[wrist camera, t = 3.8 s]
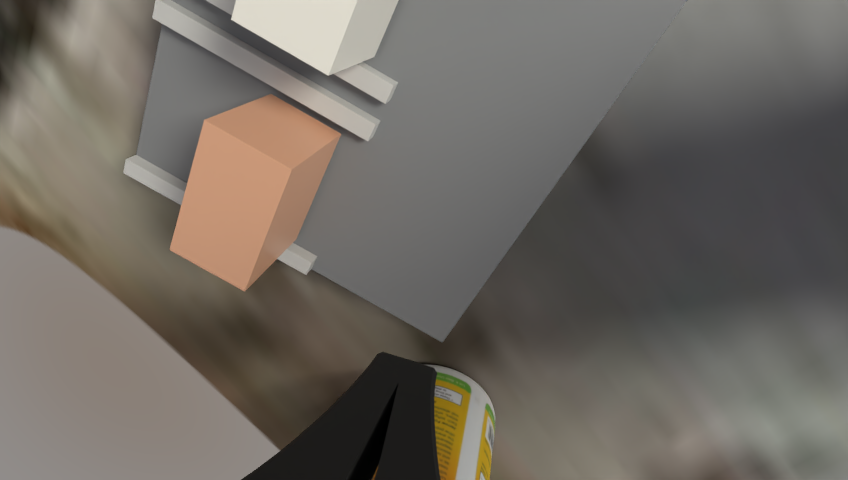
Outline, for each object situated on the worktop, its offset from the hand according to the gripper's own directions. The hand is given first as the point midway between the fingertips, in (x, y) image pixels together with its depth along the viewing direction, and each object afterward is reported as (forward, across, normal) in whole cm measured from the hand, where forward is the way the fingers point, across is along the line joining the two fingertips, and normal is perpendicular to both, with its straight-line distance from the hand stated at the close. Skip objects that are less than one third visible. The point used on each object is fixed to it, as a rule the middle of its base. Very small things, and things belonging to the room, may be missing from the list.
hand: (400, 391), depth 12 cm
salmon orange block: (+6, +6, -2) cm, 9 cm away
